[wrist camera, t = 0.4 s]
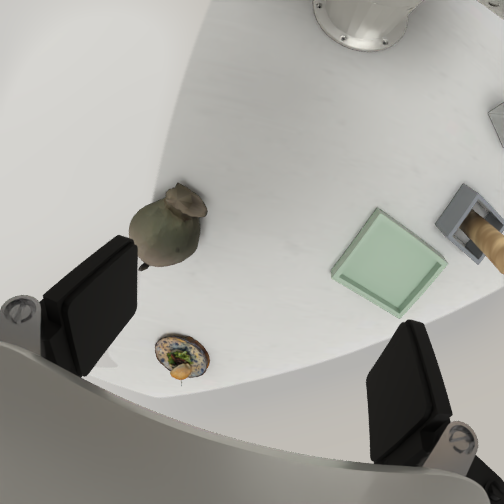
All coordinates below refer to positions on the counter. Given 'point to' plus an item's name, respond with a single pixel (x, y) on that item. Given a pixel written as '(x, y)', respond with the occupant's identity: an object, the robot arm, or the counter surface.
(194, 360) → the plate of food
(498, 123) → the skincare box
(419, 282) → the tray
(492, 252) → the dowel
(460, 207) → the open box
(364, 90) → the counter surface
